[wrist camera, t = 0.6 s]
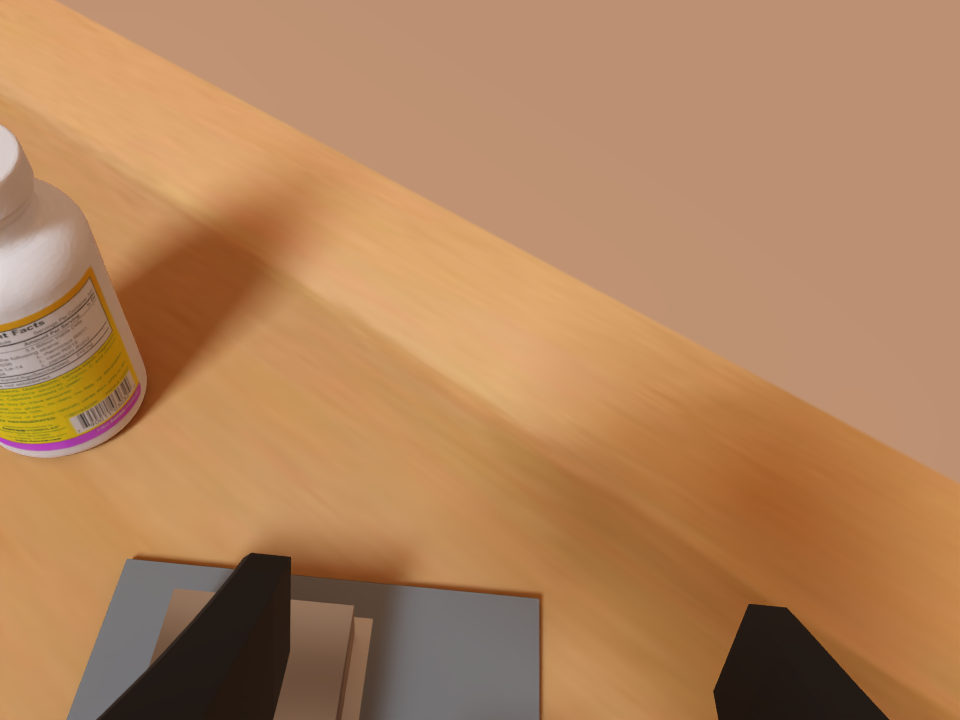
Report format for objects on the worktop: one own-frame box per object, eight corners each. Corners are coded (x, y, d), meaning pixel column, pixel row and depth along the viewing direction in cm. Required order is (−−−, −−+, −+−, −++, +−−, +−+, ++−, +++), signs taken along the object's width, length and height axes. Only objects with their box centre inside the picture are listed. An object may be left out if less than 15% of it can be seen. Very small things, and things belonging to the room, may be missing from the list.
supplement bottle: (0, 346, 33) (-159, 93, 23) (155, 336, 34) (70, 93, 24) (-32, 474, 29) (-241, 236, 19) (145, 456, 30) (38, 226, 20)
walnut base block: (324, 824, 23) (320, 812, 21) (133, 809, 23) (106, 796, 20) (354, 633, 27) (354, 605, 24) (190, 618, 26) (174, 588, 24)
